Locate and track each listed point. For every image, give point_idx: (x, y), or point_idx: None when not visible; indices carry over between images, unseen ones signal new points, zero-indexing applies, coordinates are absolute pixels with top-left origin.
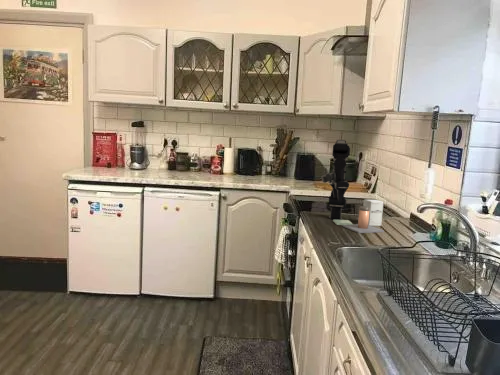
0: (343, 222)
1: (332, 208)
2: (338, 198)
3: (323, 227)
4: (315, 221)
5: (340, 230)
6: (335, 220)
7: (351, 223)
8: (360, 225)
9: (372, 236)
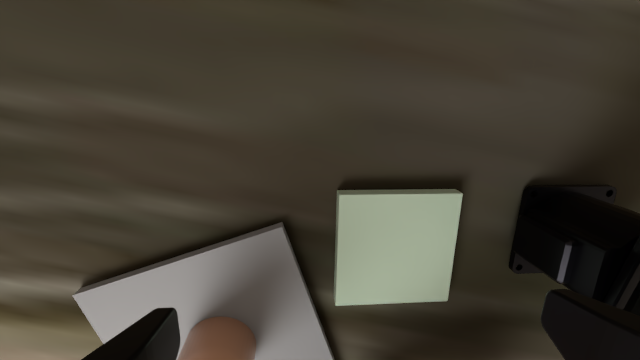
0: (358, 248)
1: (627, 231)
2: (105, 346)
3: (210, 52)
4: (446, 31)
5: (132, 175)
6: (426, 202)
7: (334, 298)
8: (188, 340)
9: (9, 351)
